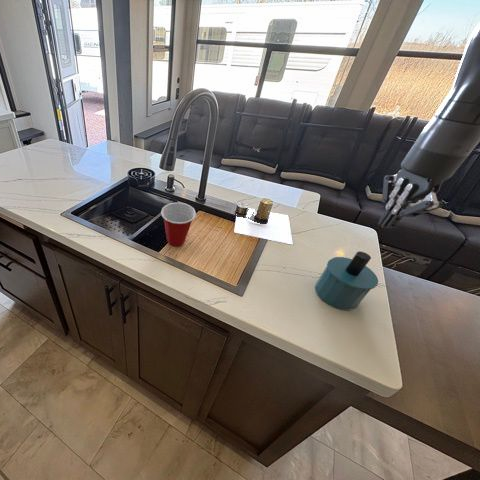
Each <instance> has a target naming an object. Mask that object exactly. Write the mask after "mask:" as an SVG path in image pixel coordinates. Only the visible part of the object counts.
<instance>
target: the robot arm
mask: <svg viewBox="0 0 480 480" xmlns="http://www.w3.org/2000/svg"><path fill="white" fill-rule="evenodd" d="M479 143H480V22H479V23H478V24H477V25H476V27H475V28H474V29H473V31H472V33H471V35H470V37H469V39H468V41H467V44H466V46H465V49H464V52H463V55H462V58H461V60H460V64H459V66H458V69H457V72H456V75H455V78H454V81H453V85H452V87H451V89H450V91H449V92H448V94H447V95H446V97H445V99H444V100H443V102H442V103H441V104H440V106H439V108H438V109H437V111H436V112H435V114H434V115H433V117H432V118H431V120H430V121H429V122H428V123H427V124H426V125H425V126H424V128H423V129H422V130H421V132H420V133H419V135H418V137H417V139H416V140H415V142H414V143H413V144H412V146H411V148H410V149H409V150H408V152H407V153H406V155H405V157H404V158H403V160H402V162H401V163H400V168H401V169H400V170H398V172H397V173H396V174H393V175H391V174H386V175H385V176H384V177H383V182H382V183H383V184H382V186H383V187H382V196H381V203H383V204H385V210H384V212H383V213H382V215H381V216H380V217H379V220H378V222H377V224H378V225H379V226H380V227H381V228H382V229H384V230H392V229H395V228H396V227H397V225H399V224H400V221H402V219H403V218H404V217H407V218H416V217H419V216H421V215H425V214H427V213H430V212H432V211H435V210H438V209H441V208H442V207H443V206H444V202H443V201H441V200H438V198H437V194H438V193H439V192H440V190H441V186H442V185H443V182H445V181H447V180H449V179H450V178H452V177H453V176H454V174H455V173H456V172H457V170H458V169H459V168H460V167H461V165H462V164H463V163H464V162H465V160H466V159H467V158H468V157H469V155H470V154H471V153H472V151H473V150H474V149H475V148H476V147H477V145H478V144H479Z"/></svg>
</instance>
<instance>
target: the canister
mask: <svg viewBox="0 0 480 480" xmlns="http://www.w3.org/2000/svg"><path fill="white" fill-rule="evenodd" d="M314 290H315V293H316V294H317V296H318V297H319V298H320V299H321V301H323V302H324V303H326V304H327V305H328V306H331V307H332V308H335V309H337V310H340V311H341V310H342V311H352V310H354V309H356V308H357V306H359V304H360V303H361V302H362V301H363V300H364V298H365V297H366V296H367V295H368V294H369V292H370V291H371V290H372V289H369V290H362V289H357V288H353V287H350V286H348V285H346V284H344V283H342V282H340V281H339V280H337V279H336V278H335V277H334V276H333V275H332V274H331V273H330V272H329V270H328V268H327V266H326V267H325V268H324V270H323V271H322V273H321V275H320V276H319V278H318V280H317V281H316V283H315V286H314Z"/></svg>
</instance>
